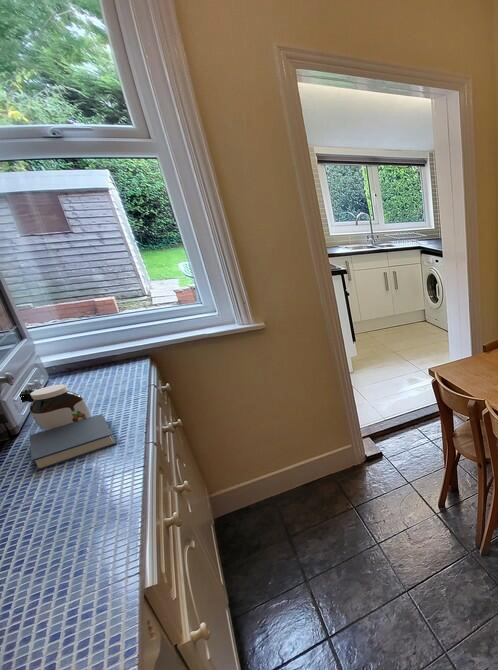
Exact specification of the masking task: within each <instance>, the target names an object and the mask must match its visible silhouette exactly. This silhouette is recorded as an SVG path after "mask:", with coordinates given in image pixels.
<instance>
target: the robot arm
mask: <svg viewBox="0 0 498 670" xmlns="http://www.w3.org/2000/svg"><path fill="white" fill-rule="evenodd" d="M34 391H35V390H34V389H24V390H22V392H21V391H20V392H21V394H20V397H21V396H22V397H21V400H22V403H21V404H23V403H27V402H28V403H32V402H33V401H34V399H33V398H32V397H31V395H30V394H31V393H32V392H34ZM23 396H24V397H23ZM9 422H10V421H9V420H8V417H6V415H5V413H4V412H0V425H4V424H8V423H9Z"/></svg>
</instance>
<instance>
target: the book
mask: <svg viewBox="0 0 498 670" xmlns="http://www.w3.org/2000/svg"><path fill="white" fill-rule="evenodd" d="M29 445H30V450H29V451H30V461H31V462H35V464H36V470H37V471H42V470H45V469H48V468H50V467H53V466H56V465H60V464H62V463H65V462H69V461H71V460H74V459H78V458H80V457H83V456H87V455H88V454H92V453H95V452H98V451H101V450H103V449H108V448H111V447H112V446H115V445H117V442H116V439H115V438H114V435H113V433H112V431H111V429H110V426H109V424H108V422H107V421H106V418H105V417H104V414H102V413H99V414H97V415H94V416H91V417H90V418H87V419H83V420H80V421H77V422H73V423H70V424H66V425H63V426H60V427H56V428H53V429H49V430H46V431H44V430H43V431H40V432H39V431H38V432H35V433H33V434H30V435H29Z"/></svg>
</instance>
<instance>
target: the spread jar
mask: <svg viewBox="0 0 498 670" xmlns="http://www.w3.org/2000/svg"><path fill="white" fill-rule="evenodd" d="M33 391H34V392H32V393H31V394H30V395H31V397H32V398H33V399H34V401H33V402H31V404H30V405H29V412H30V415H31V417H32V419H33V420H34V422H35V423H36V425H37V426H38V427H39V428H40V429H41V430H43V431H46V430H49V429H53V428H56V427H60V426H63V425H66V424H70V423H73V422H77V421H80V420H83V419H87V418H90V417H92V413H91V410H90V407H89V405H88V404H87V402H86V401H85V399H84V398H83V397H82V396H81V395H80V394H78V393H76V392H73V391H70V390H69V388H68V386H67V385H66V384H64V383H63V384H53V385H49V386H45V387H41V388H39V389H36V390H33Z"/></svg>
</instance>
